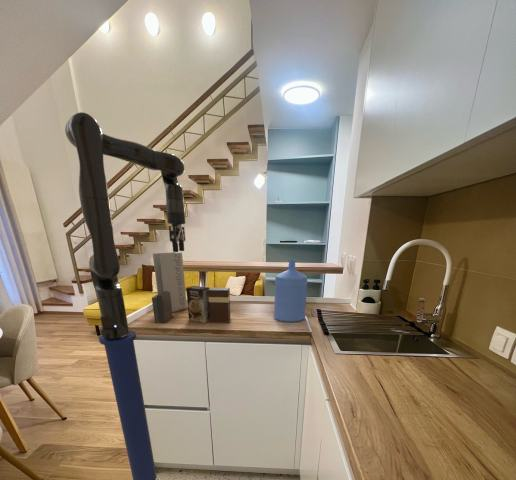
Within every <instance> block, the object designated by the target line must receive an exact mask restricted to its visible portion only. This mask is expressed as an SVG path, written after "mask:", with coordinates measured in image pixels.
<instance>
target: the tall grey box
mask: <svg viewBox="0 0 516 480" xmlns="http://www.w3.org/2000/svg"><path fill="white" fill-rule="evenodd" d="M152 259H153V268H154V276H155V282H156V283H155V284H156V291H157V295H158V294H159V293H163V292H164V291H170V297H171V306H172V313H174V312H179V311H181V310H186V309H188V303H187V292H186V282H185V281H186V280H185V272H184V271H185V270H184V260H183V253H182V252H173V251H172V252H158V253H157V252H156V253H155V252H154V253H152Z"/></svg>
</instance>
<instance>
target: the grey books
mask: <svg viewBox="0 0 516 480" xmlns="http://www.w3.org/2000/svg"><path fill="white" fill-rule="evenodd" d="M151 302H152V311H153V317H154V319H153V320H154V323H155V324H159V323H160V324H166V323H167V322H168V321H169V320H170V319H171V318H173V312H172V306H171V297H170V291H164V292H163V293H159V294H158V293H157V294H156V295H154V296H152V297H151Z"/></svg>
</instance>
